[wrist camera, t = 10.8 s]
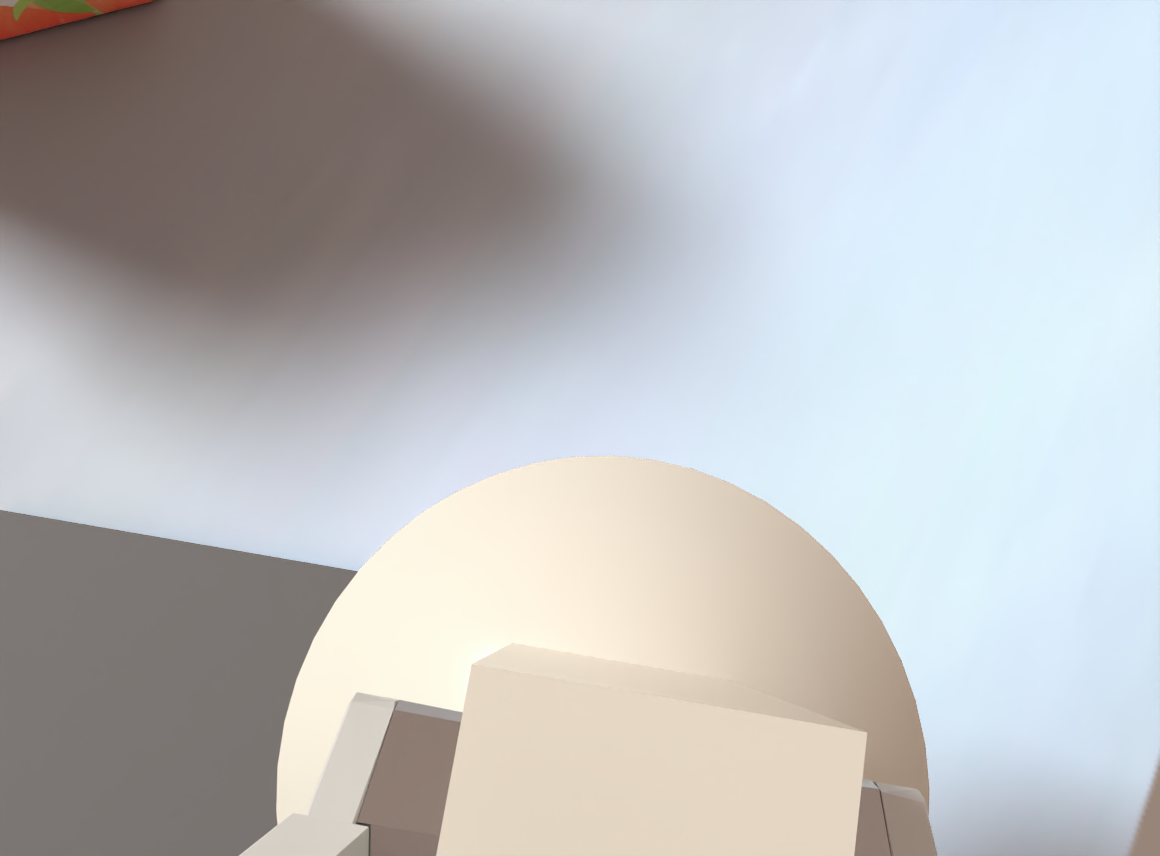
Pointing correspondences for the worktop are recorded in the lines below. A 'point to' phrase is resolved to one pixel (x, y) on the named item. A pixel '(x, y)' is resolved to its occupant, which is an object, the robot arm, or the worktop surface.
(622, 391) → the worktop surface
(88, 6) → the cracker box
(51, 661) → the rubber mat
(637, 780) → the lid
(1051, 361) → the worktop surface
